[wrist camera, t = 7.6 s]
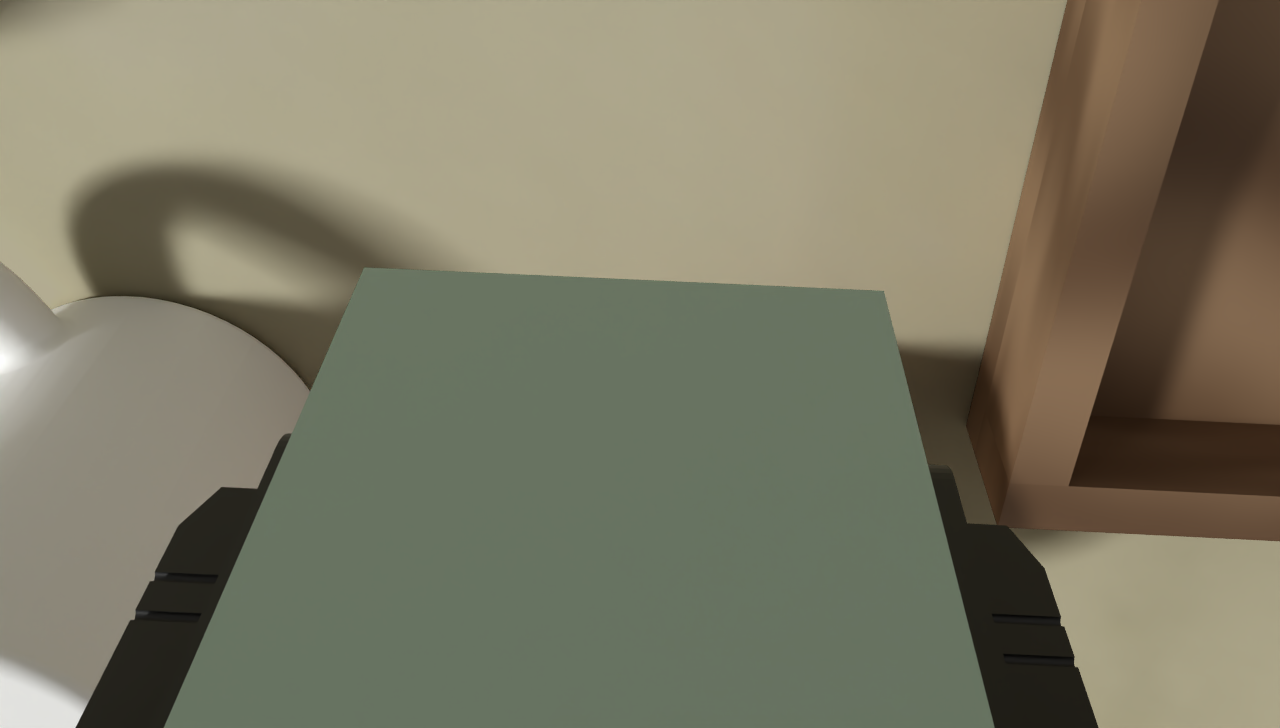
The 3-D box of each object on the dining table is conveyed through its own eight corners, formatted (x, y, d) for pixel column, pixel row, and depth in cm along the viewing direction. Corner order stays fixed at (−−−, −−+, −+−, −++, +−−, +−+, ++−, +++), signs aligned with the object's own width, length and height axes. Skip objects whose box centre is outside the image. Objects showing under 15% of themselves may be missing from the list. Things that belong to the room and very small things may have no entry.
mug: (-82, 968, 24) (-626, 540, 18) (122, 591, 32) (-195, 213, 26) (281, 896, 22) (-180, 391, 16) (396, 517, 30) (125, 91, 24)
